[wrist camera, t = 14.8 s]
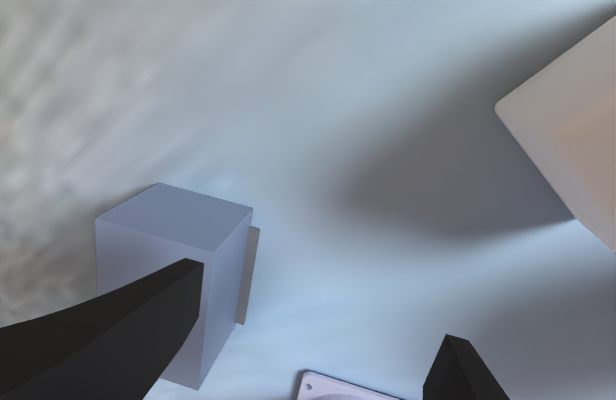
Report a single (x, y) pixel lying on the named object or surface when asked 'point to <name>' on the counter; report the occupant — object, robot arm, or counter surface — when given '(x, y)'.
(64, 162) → the counter surface
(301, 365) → the counter surface
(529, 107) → the medicine bottle
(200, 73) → the counter surface
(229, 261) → the blue-gray rectangular block
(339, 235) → the counter surface
